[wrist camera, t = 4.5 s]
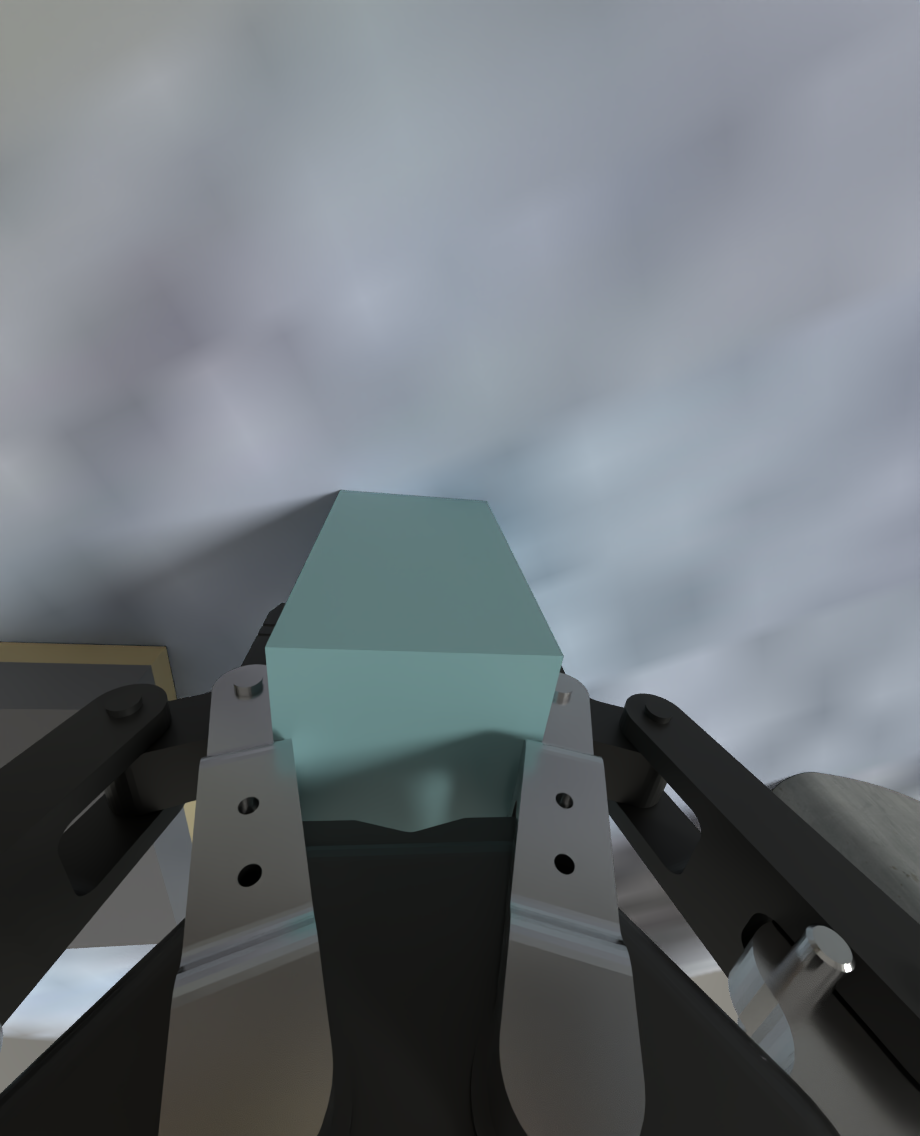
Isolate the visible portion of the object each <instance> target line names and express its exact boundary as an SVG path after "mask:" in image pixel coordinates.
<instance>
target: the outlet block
mask: <svg viewBox="0 0 920 1136" xmlns="http://www.w3.org/2000/svg"><path fill="white" fill-rule="evenodd" d="M132 684H153V685H156V686H159V687H161V688H162V689H163V690H164V691H165V692H166V694H167V698H168V701H171V700H176V699H177V697H176V692H175V688H174V683H173V678H172V673H171V668H170V664H169V659H168V654H167V649H166V647H161V646H124V645H87V644H51V643H14V642H0V768H2V767H3V766H4V765H6V764H7V763H8V762H10V761H11V760H13V759H14V758H15V757H17V756H18V755H19V754H21V753H22V752H23V751H25V750H26V749H28V748H29V747H30V746H32V745H33V744H34V743H36V742H37V741H38V740H40V739H41V738H42V737H44V736H45V735H47V734H48V733H49V732H51V731H52V730H53V729H55V728H56V727H57V726H59V725H60V724H61V723H63V722H64V721H66V720H67V719H68V718H70V717H71V716H72V715H74V714H75V713H76V712H78V711H79V710H80V709H82V708H83V707H85V706H86V705H87V704H89V703H90V702H91V701H93V700H94V699H96V698H97V697H99V696H100V695H102V694H104V693H106V692H108V691H111V690H113V689H116V688H119V687H122V686H126V685H132ZM104 794H105V792H104V791H103V792H102V793H101V794H100V795H99V796H98V797H97V798H96V799H95V800H93V801H92V802H91V803H90V804H89V805H88V806H87V807H86V808H85V809H84V810H83V811H82V812H81V813H80V814H79V815H78V816H77V817H76V818H75V819H74V820H73V821H72V822H71V823H70V824H69V825H68V827H67V828H66V829H65V831H66V830H67V829H68V828H69V827H70V826H71V825H72V824H73V823H75V822H76V821H77V820H78V819H79V818H80V817H81V816H82V815H83V814H84V813H85V812H86V811H87V810H88V809H89V808H90V807H91V806H92V805H93V804H94V803H95V802H96V801H97V800H98V799H99V798H100V797H102V796H103V795H104ZM195 808H196V800H195V801H191V802H188V803H185V805H184V807H183V808H182V809H181V811H180V812H179V813H178V815H177V816H176V817H175V818H174V819H173V821H172V822H171V823H170V824H169V825H168V827H167V828H166V829H165V830H164V831H163V833H162V834H161V835H160V836H159V837H158V839H157V840H156V841H155V842H154V844H153V845H152V846H151V847H150V848H149V850H148V851H147V852H146V853H145V854H144V856H143V857H142V858H141V859H140V860H139V862H138V863H137V864H136V865H135V866H134V868H133V869H132V870H131V871H130V872H129V874H128V875H127V876H126V877H125V879H124V880H123V881H122V882H121V883H120V885H119V886H118V887H117V888H116V889H115V891H114V892H113V893H112V894H111V895H110V897H109V898H108V899H107V900H106V901H105V903H104V904H103V905H102V906H101V907H100V909H99V910H98V911H97V912H96V913H95V915H94V916H93V917H92V918H91V920H90V921H89V922H88V923H87V924H86V926H85V927H84V928H83V929H82V930H81V932H80V933H79V934H78V935H77V936H76V938H75V939H74V940H73V941H72V942H71V944H70V945H69V946H68V947H67V948H66V949H70V948H89V947H107V946H126V945H144V944H158V943H159V942H160V941H161V940H162V939H163V938H164V937H165V936H166V935H167V934H169V933H170V932H171V931H172V930H173V929H174V928H175V927H176V926H177V925H178V924H179V923H180V922H181V921H182V920H183V919H184V918H185V917H186V906H187V895H188V884H189V873H190V862H191V851H192V840H193V829H194V818H195ZM65 831H64V832H65Z"/></svg>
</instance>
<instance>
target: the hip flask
mask: <svg viewBox="0 0 920 1136" xmlns="http://www.w3.org/2000/svg"><path fill="white" fill-rule="evenodd" d="M772 792H773V793H774V794H775V795H776V796H777V797H779V798H780V799H781V800H782V801H783V802H784V803H785V804H786V805H787V806H789V807H790V808H791V809H792V810H793V811H794V812H795V813H796V814H797V815H799V816H800V817H801V818H802V819H803V820H804V821H805V822H806V823H807V824H809V825H810V826H811V827H812V828H813V829H814V830H815V831H816V832H817V833H819V834H820V835H821V836H822V837H823V838H824V839H825V840H826V841H828V842H829V843H830V844H831V845H832V846H833V847H834V848H835V849H836V850H838V851H839V852H840V853H841V854H842V855H843V856H844V857H845V858H846V859H848V860H849V861H850V862H851V863H852V864H853V865H854V866H855V867H856V868H858V869H859V870H860V871H861V872H862V873H863V874H864V875H865V876H866V877H868V878H869V879H870V880H871V881H872V882H873V883H874V884H875V885H876V886H878V887H879V888H880V889H881V890H882V891H883V892H884V893H885V894H886V895H888V896H889V897H890V898H891V899H892V900H893V901H894V902H895V903H896V904H898V905H899V906H900V907H901V908H902V909H903V910H904V911H905V912H907V913H908V914H909V915H910V916H911V917H912V918H913V919H914V920H915V921H917V922H918V923H919V924H920V801H918V800H915V799H913V798H911V797H908V796H906V795H903V794H901V793H898V792H895V791H892V790H890V789H887V788H884V787H880V786H877V785H874V784H870V783H866V782H862V781H858V780H854V779H850V778H845V777H840V776H834V775H828V774H822V773H814V772H808V773H802V774H798V775H795V776H792V777H790V778H788V779H786V780H784V781H783V782H781V783H780V784H779V785H777V786H776V787H775V788H774V789H773V790H772Z"/></svg>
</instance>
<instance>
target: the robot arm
mask: <svg viewBox="0 0 920 1136" xmlns="http://www.w3.org/2000/svg"><path fill="white" fill-rule="evenodd" d="M285 604H286V603H281V604H280V605H279V606H277V607H276V608H275V609H273V610H272V611H271V612H269V614H268V616H267V618H266V620H265V621H264V623H263V626H262V627H261V629H260V631H259V633H258V636H257V637H256V639H255V641H254V642H253V644H252V646H251V648H250V650H249V652H248V654H247V656H246V658H245V660H244V662H243V663H242V665H241V667H238V668H235V669H233V670H230V671H228V672H227V673H225V674H224V675H222V676H221V677H220V678H219V679H218V680H217V681H216V682H215V683H214V685H213V688H212V691H211V692H208V693H205V694H201V695H197V696H192V697H187V698H182V699H176V700H171V701H168V698H167V694H166V692H165V691H164V690H163V689H162V688H161V687H159V686H156V685H153V684H132V685H126V686H122V687H119V688H116V689H113V690H111V691H108V692H106V693H104V694H102V695H100V696H99V697H97V698H96V699H94V700H93V701H91V702H90V703H89V704H87V705H86V706H85V707H83V708H82V709H80V710H79V711H78V712H76V713H75V714H74V715H72V716H71V717H70V718H68V719H67V720H66V721H64V722H63V723H61V724H60V725H59V726H57V727H56V728H55V729H53V730H52V731H51V732H49V733H48V734H47V735H45V736H44V737H42V738H41V739H40V740H38V741H37V742H36V743H34V744H33V745H32V746H30V747H29V748H28V749H26V750H25V751H23V752H22V753H21V754H19V755H18V756H17V757H15V758H14V759H13V760H11V761H10V762H8V763H7V764H6V765H4V766H3V767H2V768H0V1050H1V1047H2V1040H3V1032H2V1026H3V1025H4V1023H5V1022H6V1021H7V1020H8V1018H9V1017H10V1016H11V1015H12V1014H13V1012H14V1011H15V1010H16V1009H17V1008H18V1006H19V1005H20V1004H21V1003H22V1002H23V1000H24V999H25V998H26V997H27V996H28V994H29V993H30V992H31V991H32V990H33V988H34V987H35V986H36V985H37V983H38V982H39V981H40V980H41V979H42V977H43V976H44V975H45V974H46V973H47V971H48V970H49V969H50V968H51V967H52V965H53V964H54V963H55V962H56V961H57V959H58V958H59V957H60V956H61V955H62V953H63V952H64V951H65V950H66V948H67V947H68V946H69V945H70V944H71V942H72V941H73V940H74V939H75V938H76V936H77V935H78V934H79V933H80V932H81V930H82V929H83V928H84V927H85V926H86V924H87V923H88V922H89V921H90V920H91V918H92V917H93V916H94V915H95V913H96V912H97V911H98V910H99V909H100V907H101V906H102V905H103V904H104V903H105V901H106V900H107V899H108V898H109V897H110V895H111V894H112V893H113V892H114V891H115V889H116V888H117V887H118V886H119V885H120V883H121V882H122V881H123V880H124V879H125V877H126V876H127V875H128V874H129V872H130V871H131V870H132V869H133V868H134V866H135V865H136V864H137V863H138V862H139V860H140V859H141V858H142V857H143V856H144V854H145V853H146V852H147V851H148V850H149V848H150V847H151V846H152V845H153V844H154V842H155V841H156V840H157V839H158V837H159V836H160V835H161V834H162V833H163V831H164V830H165V829H166V828H167V827H168V825H169V824H170V823H171V822H172V821H173V819H174V818H175V817H176V816H177V815H178V813H179V812H180V811H181V809H182V808H183V807H184V805H185V803H188V802H191V801H195V800H196V808H195V818H194V829H193V840H192V851H191V862H190V873H189V884H188V895H187V906H186V917H185V918H184V919H183V920H182V921H181V922H180V923H179V924H178V925H177V926H176V927H175V928H174V929H173V930H172V931H171V932H170V933H169V934H167V935H166V936H165V937H164V938H163V939H162V940H161V941H160V942H159V943H158V944H157V945H156V946H155V947H154V948H153V949H152V950H151V951H150V952H149V953H147V954H146V955H145V956H144V957H143V958H142V959H141V960H140V961H139V962H138V963H137V964H136V965H135V966H134V967H133V968H132V969H131V970H130V971H129V972H128V973H126V974H125V975H124V976H123V977H122V978H121V979H120V980H119V981H118V982H117V983H116V984H115V985H114V986H113V987H112V988H111V989H110V990H109V991H108V992H107V993H105V994H104V995H103V996H102V997H101V998H100V999H99V1000H98V1001H97V1002H96V1003H95V1004H94V1005H93V1006H92V1007H91V1008H90V1009H89V1010H88V1011H87V1012H86V1013H84V1014H83V1015H82V1016H81V1017H80V1018H79V1019H78V1020H77V1021H76V1022H75V1023H74V1024H73V1025H72V1026H71V1027H70V1028H69V1029H68V1030H67V1031H66V1032H65V1033H63V1034H62V1035H61V1036H60V1037H59V1038H58V1039H57V1040H56V1041H55V1042H54V1043H53V1044H52V1045H51V1046H50V1047H49V1048H48V1049H47V1050H46V1051H45V1052H44V1053H42V1054H41V1055H40V1056H39V1057H38V1058H37V1059H36V1060H35V1061H34V1062H33V1063H32V1064H31V1065H30V1066H29V1067H28V1068H27V1069H26V1070H25V1071H24V1072H23V1073H21V1075H19V1076H18V1077H17V1078H16V1079H15V1080H14V1081H13V1082H12V1083H11V1084H10V1085H9V1086H8V1087H7V1088H6V1089H5V1090H4V1091H3V1092H2V1093H1V1094H0V1136H920V924H919V923H918V922H917V921H915V920H914V919H913V918H912V917H911V916H910V915H909V914H908V913H907V912H905V911H904V910H903V909H902V908H901V907H900V906H899V905H898V904H896V903H895V902H894V901H893V900H892V899H891V898H890V897H889V896H888V895H886V894H885V893H884V892H883V891H882V890H881V889H880V888H879V887H878V886H876V885H875V884H874V883H873V882H872V881H871V880H870V879H869V878H868V877H866V876H865V875H864V874H863V873H862V872H861V871H860V870H859V869H858V868H856V867H855V866H854V865H853V864H852V863H851V862H850V861H849V860H848V859H846V858H845V857H844V856H843V855H842V854H841V853H840V852H839V851H838V850H836V849H835V848H834V847H833V846H832V845H831V844H830V843H829V842H828V841H826V840H825V839H824V838H823V837H822V836H821V835H820V834H819V833H817V832H816V831H815V830H814V829H813V828H812V827H811V826H810V825H809V824H807V823H806V822H805V821H804V820H803V819H802V818H801V817H800V816H799V815H797V814H796V813H795V812H794V811H793V810H792V809H791V808H790V807H789V806H787V805H786V804H785V803H784V802H783V801H782V800H781V799H780V798H779V797H777V796H776V795H775V794H774V793H773V792H772V791H771V790H770V789H769V788H767V787H766V786H765V785H764V784H763V783H762V782H761V781H760V780H759V779H757V778H756V777H755V776H754V775H753V774H752V773H751V772H750V771H749V770H747V769H746V768H745V767H744V766H743V765H742V764H741V763H740V762H738V761H737V760H736V759H735V758H734V757H733V756H732V755H731V754H730V753H728V752H727V751H726V750H725V749H724V748H723V747H722V746H721V745H720V744H718V743H717V742H716V741H715V740H714V739H713V738H712V737H711V736H710V735H708V734H707V733H706V732H705V731H704V730H703V729H702V728H701V727H700V726H698V725H697V724H696V723H695V722H694V721H693V720H692V719H691V718H690V717H688V716H687V715H686V714H685V713H684V712H683V711H682V710H681V709H679V708H678V707H677V706H676V705H674V704H673V703H671V702H669V701H668V700H666V699H663V698H661V697H658V696H655V695H651V694H635V695H632V696H631V697H629V698H628V699H627V701H626V703H625V706H624V708H623V707H619V706H615V705H611V704H607V703H603V702H599V701H596V700H593V699H591V698H589V693H588V691H587V689H586V688H585V686H584V685H583V684H582V683H581V682H579V681H578V680H577V679H575V678H573V677H571V676H569V675H566V674H565V672H564V670H563V668H562V666H561V669H560V673H559V677H558V680H557V684H556V688H555V692H554V696H553V700H552V704H551V708H550V712H549V716H548V720H547V724H546V728H545V732H544V736H543V740H542V741H533V740H528V739H526V740H524V742H523V747H522V751H521V756H520V760H519V767H518V773H517V778H516V783H515V787H514V791H513V796H512V800H511V804H510V809H509V813H508V815H507V817H479V818H462V819H458V820H455V821H451V822H448V823H444V824H441V825H437V826H433V827H430V828H426V829H423V830H419V831H415V832H405V831H400V830H396V829H392V828H387V827H383V826H379V825H374V824H370V823H366V822H361V821H357V820H333V821H302V816H301V808H300V800H299V792H298V784H297V776H296V768H295V760H294V752H293V744H292V738H290V739H285V740H273V731H272V720H271V709H270V698H269V687H268V676H267V665H266V654H265V646H266V644H267V642H268V640H269V638H270V636H271V634H272V631H273V629H274V627H275V625H276V623H277V621H278V619H279V617H280V615H281V613H282V611H283V609H284V606H285ZM667 783H668V784H669V785H670V786H671V787H672V788H673V790H674V791H675V792H676V793H677V794H678V795H679V796H680V797H681V798H682V800H683V801H684V802H685V803H686V804H687V805H688V806H689V807H690V808H691V810H692V811H693V812H694V813H695V815H696V817H697V819H698V821H699V823H700V826H701V832H700V831H699V830H698V829H697V828H696V827H695V825H694V824H693V823H692V822H691V821H690V820H689V819H688V818H687V816H686V815H685V814H684V813H683V812H682V811H681V810H680V808H679V807H678V806H677V805H676V804H675V803H674V802H673V801H672V799H671V798H670V797H669V796H668V795H667V794H666V793H665V791H664V788H665V786H666V784H667ZM103 791H104V792H105V794H104V795H103V796H102V797H100V798H99V799H98V800H97V801H96V802H95V803H94V804H93V805H92V806H91V807H90V808H89V809H88V810H87V811H86V812H85V813H84V814H83V815H82V816H81V817H80V818H79V819H78V820H77V821H76V822H75V823H73V824H72V825H71V826H70V827H69V828H68V829H67V830H66V831H65V829H66V828H67V827H68V825H69V824H70V823H71V822H72V821H73V820H74V819H75V818H76V817H77V816H78V815H79V814H80V813H81V812H82V811H83V810H84V809H85V808H86V807H87V806H88V805H89V804H90V803H91V802H92V801H93V800H95V799H96V798H97V797H98V796H99V795H100V794H101V793H102V792H103ZM609 815H610V816H611V818H612V819H613V821H614V822H615V823H616V825H617V826H618V827H619V829H620V830H621V832H622V833H623V834H624V836H625V837H626V838H627V840H628V841H629V843H630V844H631V845H632V847H633V848H634V849H635V851H636V852H637V854H638V855H639V856H640V858H641V859H642V860H643V862H644V863H645V865H646V866H647V867H648V869H649V870H650V871H651V873H652V874H653V876H654V877H655V878H656V880H657V881H658V882H659V884H660V885H661V887H662V888H663V889H664V891H665V892H666V893H667V895H668V896H669V898H670V899H671V900H672V902H673V903H674V904H675V906H676V907H677V909H678V910H679V911H680V913H681V914H682V915H683V917H684V918H685V920H686V921H687V922H688V924H689V925H690V926H691V928H692V929H693V931H694V932H695V933H696V935H697V936H698V937H699V939H700V940H701V942H702V943H703V944H704V946H705V947H706V949H707V950H708V951H709V953H710V954H711V955H712V957H713V958H714V960H715V961H716V962H717V964H718V965H719V966H720V968H721V969H722V971H723V972H724V973H725V975H726V976H727V977H728V979H729V980H728V983H729V992H730V996H731V1000H732V1003H733V1005H734V1008H735V1010H736V1012H737V1014H738V1025H737V1024H736V1023H735V1022H734V1021H733V1020H732V1019H731V1018H730V1017H729V1016H728V1015H727V1014H726V1013H725V1012H724V1011H723V1010H722V1009H721V1008H720V1007H719V1006H718V1005H717V1004H716V1003H715V1002H714V1001H713V1000H712V999H711V998H710V997H708V995H707V994H706V993H704V991H703V990H702V989H701V988H699V986H698V985H697V984H696V983H694V982H693V981H692V980H691V979H690V978H689V977H688V976H687V975H686V974H685V973H684V972H683V971H682V970H681V969H680V968H679V967H678V966H677V965H676V964H675V963H674V962H673V961H672V960H671V959H670V958H669V957H668V956H667V955H666V954H665V953H664V952H663V951H662V950H661V949H660V948H659V947H658V946H657V945H656V944H655V943H654V942H653V941H652V940H651V939H650V938H649V937H648V936H647V935H646V934H645V933H644V932H643V931H642V930H641V929H639V928H638V927H637V926H636V925H635V924H634V923H633V922H632V921H631V920H630V919H629V918H628V917H627V916H626V915H625V914H624V913H623V912H622V911H621V910H620V909H619V908H618V904H617V894H616V884H615V874H614V863H613V853H612V843H611V833H610V822H609ZM64 831H65V832H64Z"/></svg>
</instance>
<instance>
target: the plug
mask: <svg viewBox="0 0 920 1136" xmlns="http://www.w3.org/2000/svg"><path fill="white" fill-rule="evenodd" d="M265 654H266V665H267V676H268V687H269V698H270V709H271V720H272V731H273V740H285V739H290V738H292V744H293V752H294V760H295V768H296V776H297V784H298V792H299V800H300V808H301V816H302V821H333V820H357V821H361V822H366V823H370V824H374V825H379V826H383V827H387V828H392V829H396V830H400V831H405V832H415V831H419V830H423V829H426V828H430V827H433V826H437V825H441V824H444V823H448V822H451V821H455V820H458V819H462V818H479V817H507V815H508V813H509V809H510V804H511V800H512V796H513V791H514V787H515V783H516V778H517V773H518V767H519V760H520V756H521V751H522V747H523V742H524V740H526V739H528V740H533V741H542V740H543V736H544V732H545V728H546V724H547V720H548V716H549V712H550V708H551V704H552V700H553V696H554V692H555V688H556V684H557V680H558V677H559V673H560V669H561V665H562V661H563V657H564V656H563V654H562V652H561V650H560V648H559V646H558V644H557V642H556V640H555V638H554V636H553V634H552V632H551V630H550V628H549V626H548V624H547V622H546V620H545V618H544V616H543V613H542V611H541V609H540V607H539V605H538V603H537V601H536V599H535V597H534V595H533V593H532V591H531V589H530V587H529V585H528V583H527V581H526V579H525V577H524V575H523V573H522V571H521V569H520V567H519V565H518V563H517V561H516V559H515V557H514V555H513V553H512V551H511V549H510V547H509V545H508V543H507V541H506V539H505V537H504V535H503V533H502V531H501V529H500V527H499V525H498V523H497V521H496V519H495V517H494V515H493V513H492V511H491V509H490V507H489V505H488V503H487V501H477V500H464V499H451V498H437V497H424V496H411V495H398V494H385V493H372V492H358V491H345V490H340V492H339V494H338V496H337V498H336V500H335V502H334V504H333V506H332V508H331V511H330V513H329V515H328V517H327V519H326V521H325V523H324V525H323V527H322V529H321V531H320V534H319V536H318V538H317V540H316V542H315V544H314V546H313V548H312V550H311V552H310V554H309V556H308V559H307V561H306V563H305V565H304V567H303V569H302V571H301V573H300V575H299V577H298V579H297V581H296V584H295V586H294V588H293V590H292V592H291V594H290V596H289V598H288V600H287V602H286V604H285V606H284V609H283V611H282V613H281V615H280V617H279V619H278V621H277V623H276V625H275V627H274V629H273V631H272V634H271V636H270V638H269V640H268V642H267V644H266V646H265Z"/></svg>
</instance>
